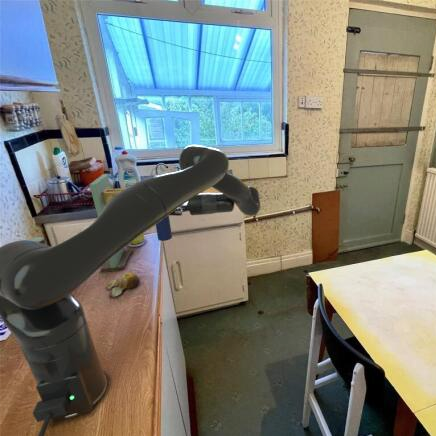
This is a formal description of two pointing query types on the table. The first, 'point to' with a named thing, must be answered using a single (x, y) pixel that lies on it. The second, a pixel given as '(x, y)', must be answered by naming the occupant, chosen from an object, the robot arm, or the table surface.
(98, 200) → the green panel
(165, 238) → the t-handle plunger
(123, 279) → the fruit
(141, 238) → the pill bottle
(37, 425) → the table surface
